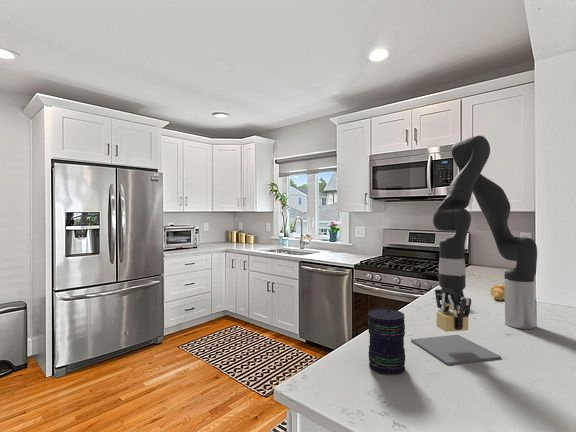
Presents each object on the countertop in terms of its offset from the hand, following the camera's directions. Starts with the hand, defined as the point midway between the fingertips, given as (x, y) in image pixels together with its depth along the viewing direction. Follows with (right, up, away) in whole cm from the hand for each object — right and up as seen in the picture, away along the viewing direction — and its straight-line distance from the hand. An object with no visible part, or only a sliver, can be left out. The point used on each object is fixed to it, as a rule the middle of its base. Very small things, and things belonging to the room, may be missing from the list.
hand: (452, 326), depth 104 cm
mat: (0, -7, 0) cm, 7 cm away
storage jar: (-24, -8, -11) cm, 28 cm away
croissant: (+56, -6, +62) cm, 84 cm away
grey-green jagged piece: (+11, -8, +32) cm, 35 cm away
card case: (0, -1, 0) cm, 1 cm away
